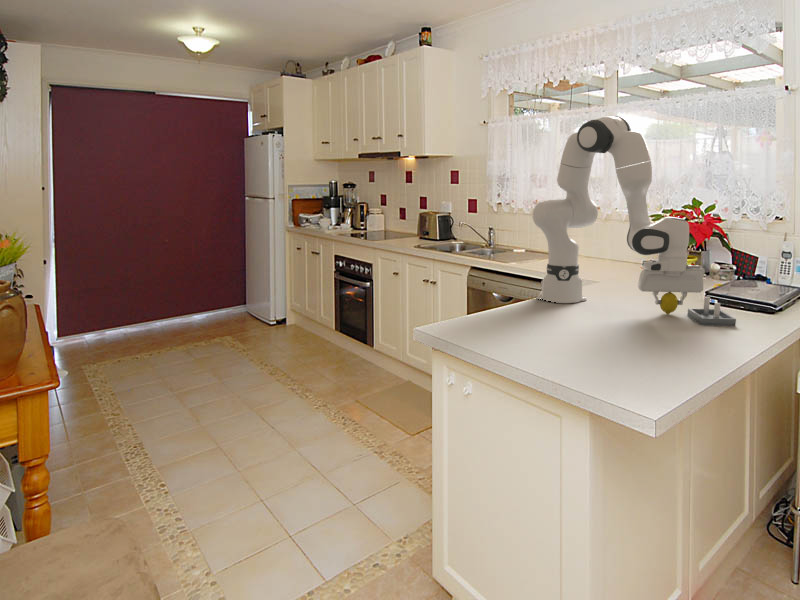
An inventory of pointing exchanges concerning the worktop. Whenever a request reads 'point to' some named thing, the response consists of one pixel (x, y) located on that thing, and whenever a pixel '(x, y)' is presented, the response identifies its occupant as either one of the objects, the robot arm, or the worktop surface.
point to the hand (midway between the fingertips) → (668, 304)
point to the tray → (711, 315)
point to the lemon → (669, 302)
